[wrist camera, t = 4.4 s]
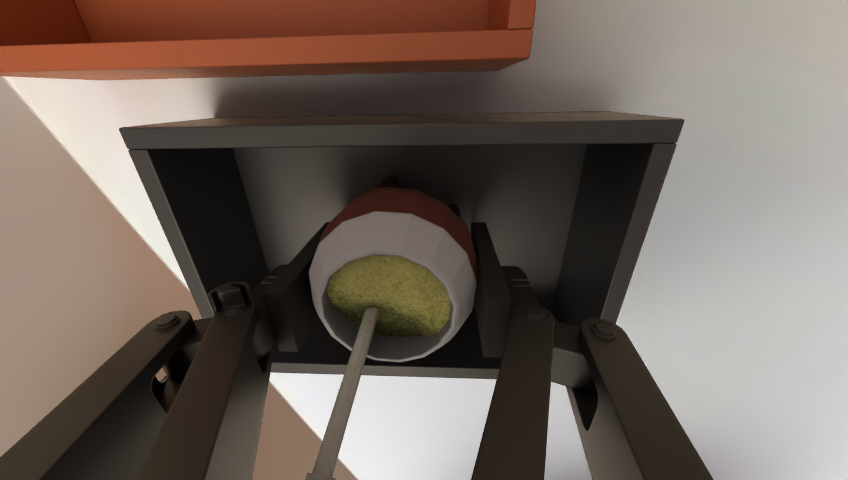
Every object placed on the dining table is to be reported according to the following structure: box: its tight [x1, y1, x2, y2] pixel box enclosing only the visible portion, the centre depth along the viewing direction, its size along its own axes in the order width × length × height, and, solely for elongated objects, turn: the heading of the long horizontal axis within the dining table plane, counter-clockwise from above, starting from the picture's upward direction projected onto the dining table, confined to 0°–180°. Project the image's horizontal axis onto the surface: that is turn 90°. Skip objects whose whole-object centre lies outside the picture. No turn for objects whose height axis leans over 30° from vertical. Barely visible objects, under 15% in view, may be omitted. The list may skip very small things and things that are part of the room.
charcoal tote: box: [119, 111, 684, 379], centre depth 16 cm, size 13×21×5 cm, turn 91°
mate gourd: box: [305, 175, 478, 480], centre depth 11 cm, size 8×8×15 cm
